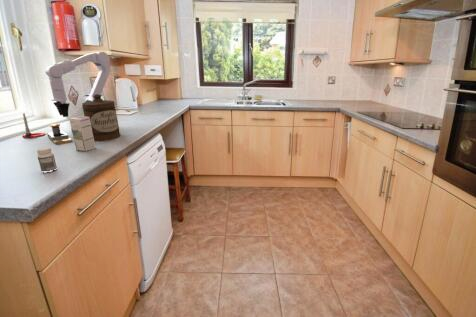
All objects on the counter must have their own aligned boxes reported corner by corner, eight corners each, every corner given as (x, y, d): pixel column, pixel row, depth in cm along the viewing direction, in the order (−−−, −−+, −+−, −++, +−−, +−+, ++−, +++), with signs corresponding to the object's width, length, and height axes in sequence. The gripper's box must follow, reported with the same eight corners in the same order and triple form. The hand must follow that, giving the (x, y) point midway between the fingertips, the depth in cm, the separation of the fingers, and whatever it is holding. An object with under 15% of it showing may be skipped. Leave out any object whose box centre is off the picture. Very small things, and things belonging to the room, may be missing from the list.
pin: (62, 137, 143) (58, 123, 141) (64, 139, 141) (60, 124, 138) (52, 139, 141) (49, 124, 138) (54, 141, 138) (51, 126, 135)
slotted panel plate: (63, 135, 149) (62, 130, 148) (72, 141, 136) (71, 137, 135) (48, 137, 145) (47, 132, 144) (55, 144, 131) (54, 139, 131)
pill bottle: (46, 168, 101) (40, 146, 98) (59, 168, 102) (54, 146, 99) (38, 173, 97) (32, 151, 94) (52, 173, 97) (47, 150, 94)
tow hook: (35, 134, 153) (20, 138, 145) (30, 111, 150) (15, 113, 141) (49, 134, 152) (35, 138, 143) (44, 111, 148) (29, 113, 140)
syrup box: (96, 148, 125) (90, 116, 120) (85, 152, 120) (78, 118, 115) (86, 147, 127) (80, 115, 122) (75, 150, 122) (68, 118, 117)
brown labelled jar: (98, 143, 133) (89, 96, 126) (83, 138, 141) (74, 94, 134) (125, 136, 144) (119, 93, 137) (110, 132, 152) (103, 92, 145)
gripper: (46, 89, 146) (52, 115, 151) (51, 91, 136) (58, 118, 140) (61, 88, 151) (67, 113, 155) (68, 90, 140) (73, 116, 145)
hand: (64, 115), depth 148 cm, fingers open, 7 cm apart
